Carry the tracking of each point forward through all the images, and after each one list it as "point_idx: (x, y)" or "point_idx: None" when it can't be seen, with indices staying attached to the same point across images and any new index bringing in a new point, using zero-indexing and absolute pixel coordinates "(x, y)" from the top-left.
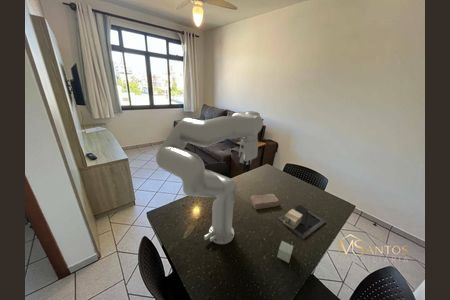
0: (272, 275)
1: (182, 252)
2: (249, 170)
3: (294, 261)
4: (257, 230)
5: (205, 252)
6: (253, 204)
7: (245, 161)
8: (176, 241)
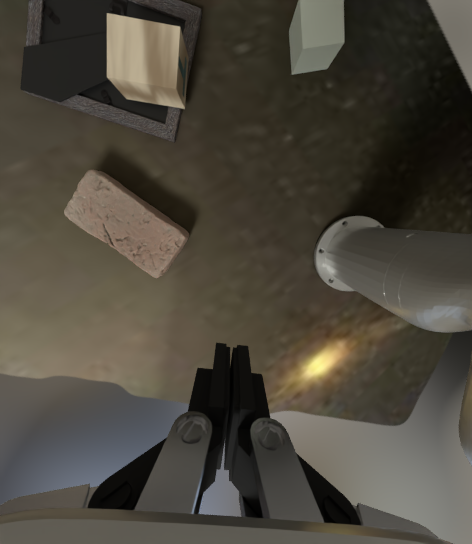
0: (390, 54)
1: None
2: (217, 344)
3: None
4: (271, 174)
5: None
6: (182, 246)
7: (341, 522)
8: None
